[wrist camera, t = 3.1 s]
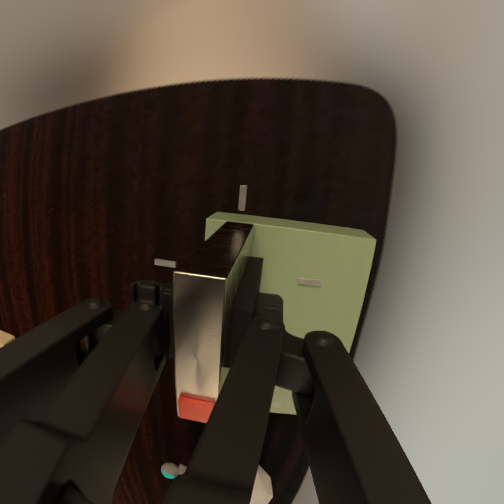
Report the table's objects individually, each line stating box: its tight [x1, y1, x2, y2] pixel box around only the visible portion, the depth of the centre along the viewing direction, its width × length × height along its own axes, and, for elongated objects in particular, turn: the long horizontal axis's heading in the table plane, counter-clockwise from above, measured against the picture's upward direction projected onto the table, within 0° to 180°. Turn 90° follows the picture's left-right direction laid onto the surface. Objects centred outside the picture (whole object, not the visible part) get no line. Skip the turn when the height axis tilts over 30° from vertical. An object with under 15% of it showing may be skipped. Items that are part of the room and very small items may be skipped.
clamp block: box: [155, 185, 376, 415], centre depth 20 cm, size 16×13×3 cm
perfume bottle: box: [161, 463, 273, 504], centre depth 24 cm, size 8×8×12 cm
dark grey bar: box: [173, 221, 254, 423], centre depth 14 cm, size 6×2×9 cm, turn 174°
